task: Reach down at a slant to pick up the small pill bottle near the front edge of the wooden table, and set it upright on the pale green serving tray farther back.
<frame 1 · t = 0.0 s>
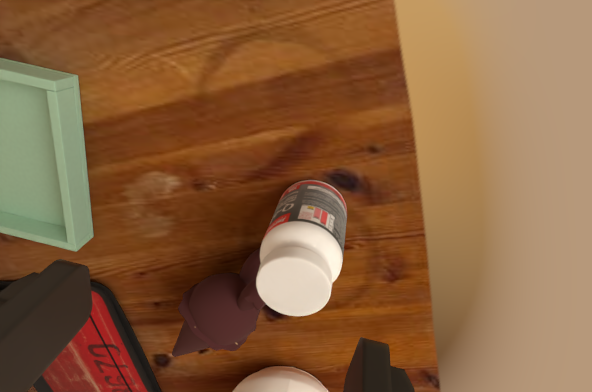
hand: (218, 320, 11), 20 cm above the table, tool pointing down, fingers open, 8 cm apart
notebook: (84, 345, 46), on the table
icecream: (232, 287, 38), on the table
pill bottle: (313, 207, 32), on the table
tray: (4, 145, 34), on the table
teapot: (292, 391, 43), on the table
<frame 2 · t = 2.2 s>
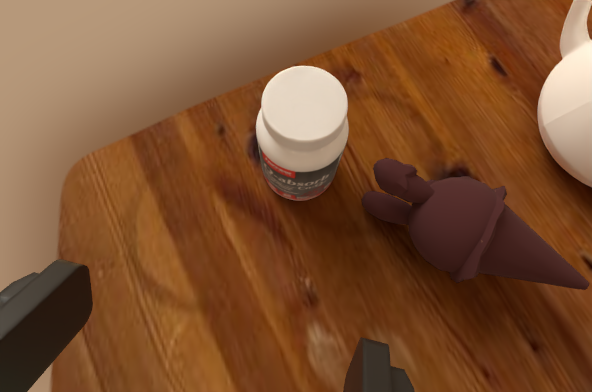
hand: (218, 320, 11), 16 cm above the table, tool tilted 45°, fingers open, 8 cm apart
icecream: (448, 238, 29), on the table
pill bottle: (299, 168, 30), on the table
teapot: (591, 130, 31), on the table
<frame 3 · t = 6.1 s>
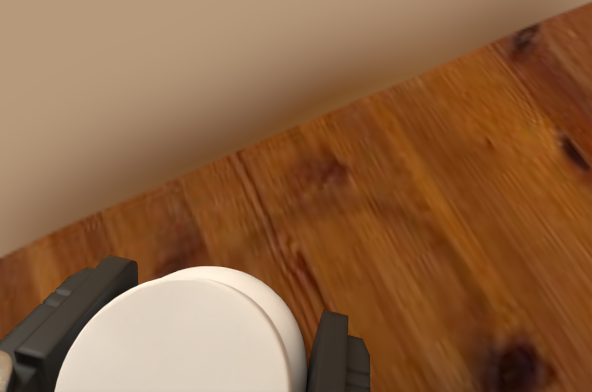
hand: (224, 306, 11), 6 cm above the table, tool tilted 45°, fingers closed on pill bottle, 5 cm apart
pill bottle: (237, 346, 17), on the table, touching gripper
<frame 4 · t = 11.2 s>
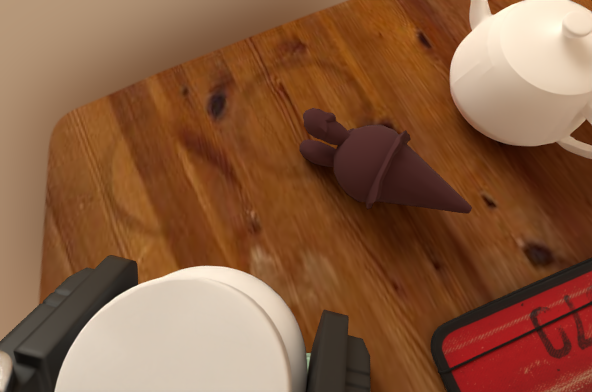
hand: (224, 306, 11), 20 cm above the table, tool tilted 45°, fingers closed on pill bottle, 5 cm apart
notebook: (581, 380, 30), on the table
icecream: (372, 180, 34), on the table
pill bottle: (237, 346, 17), point 14 cm above the table, touching gripper
teapot: (499, 94, 37), on the table
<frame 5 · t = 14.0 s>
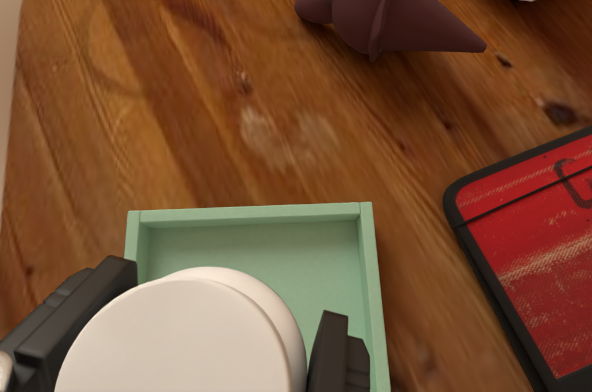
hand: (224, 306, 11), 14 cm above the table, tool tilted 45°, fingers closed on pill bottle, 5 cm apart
icecream: (375, 42, 31), on the table
pill bottle: (237, 347, 17), point 8 cm above the table, touching gripper
tray: (255, 332, 25), on the table
when the fingers open (7 cm above the table, at t = 16.5 s): pill bottle stays where it is, resting on tray.
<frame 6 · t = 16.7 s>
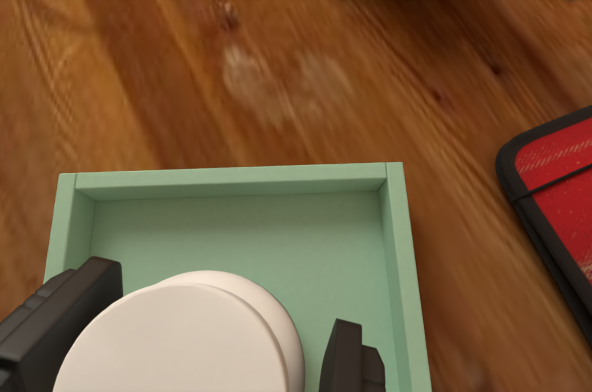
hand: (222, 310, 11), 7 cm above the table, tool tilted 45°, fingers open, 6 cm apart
pill bottle: (236, 349, 17), resting on tray
tray: (239, 345, 18), on the table
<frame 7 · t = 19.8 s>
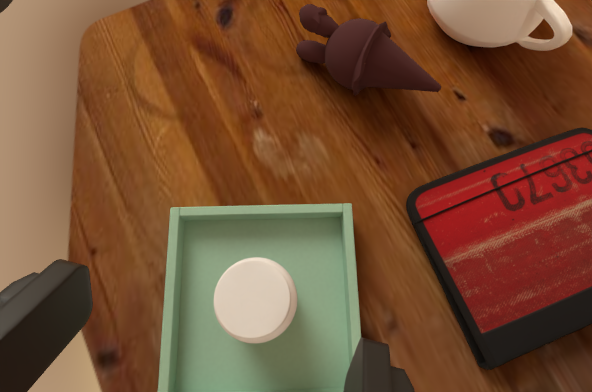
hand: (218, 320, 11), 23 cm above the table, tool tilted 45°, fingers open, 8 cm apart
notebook: (534, 236, 35), on the table
icecream: (359, 78, 40), on the table
pill bottle: (262, 301, 33), resting on tray
tray: (263, 299, 33), on the table
teapot: (470, 10, 42), on the table
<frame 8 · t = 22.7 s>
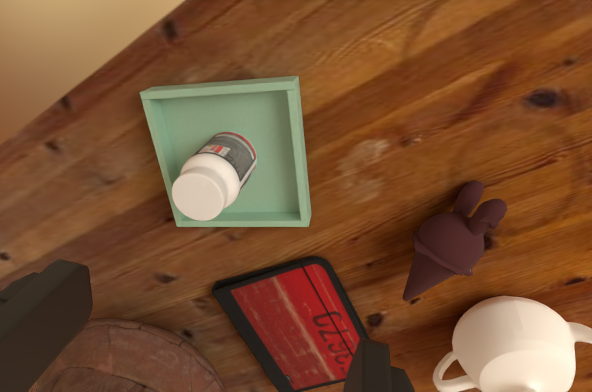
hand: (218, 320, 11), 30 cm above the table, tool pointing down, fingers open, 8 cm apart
pottery vessel: (165, 345, 59), on the table
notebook: (301, 323, 52), on the table
icecream: (439, 230, 42), on the table
pill bottle: (233, 154, 41), resting on tray
tray: (235, 154, 42), on the table
teapot: (505, 322, 47), on the table
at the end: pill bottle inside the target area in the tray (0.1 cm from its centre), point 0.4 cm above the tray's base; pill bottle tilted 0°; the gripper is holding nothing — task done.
